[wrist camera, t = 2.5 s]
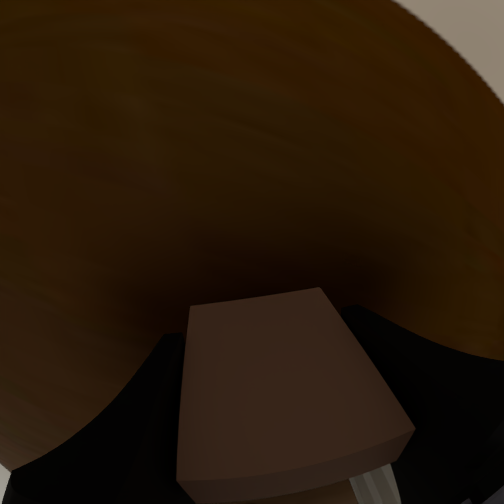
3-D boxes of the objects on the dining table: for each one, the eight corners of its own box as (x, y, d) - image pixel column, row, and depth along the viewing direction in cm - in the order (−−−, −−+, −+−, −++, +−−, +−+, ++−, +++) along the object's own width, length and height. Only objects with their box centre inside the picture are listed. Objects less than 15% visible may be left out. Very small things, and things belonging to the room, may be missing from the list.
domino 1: (318, 320, 12) (396, 460, 5) (198, 339, 11) (196, 503, 5) (319, 287, 11) (415, 428, 4) (190, 305, 11) (176, 480, 4)
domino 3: (407, 437, 18) (440, 495, 11) (355, 457, 17) (383, 524, 11) (412, 427, 17) (449, 488, 11) (358, 448, 17) (390, 519, 10)
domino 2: (395, 457, 19) (422, 510, 12) (347, 475, 19) (370, 534, 12) (400, 450, 18) (429, 504, 12) (350, 469, 18) (375, 530, 12)
